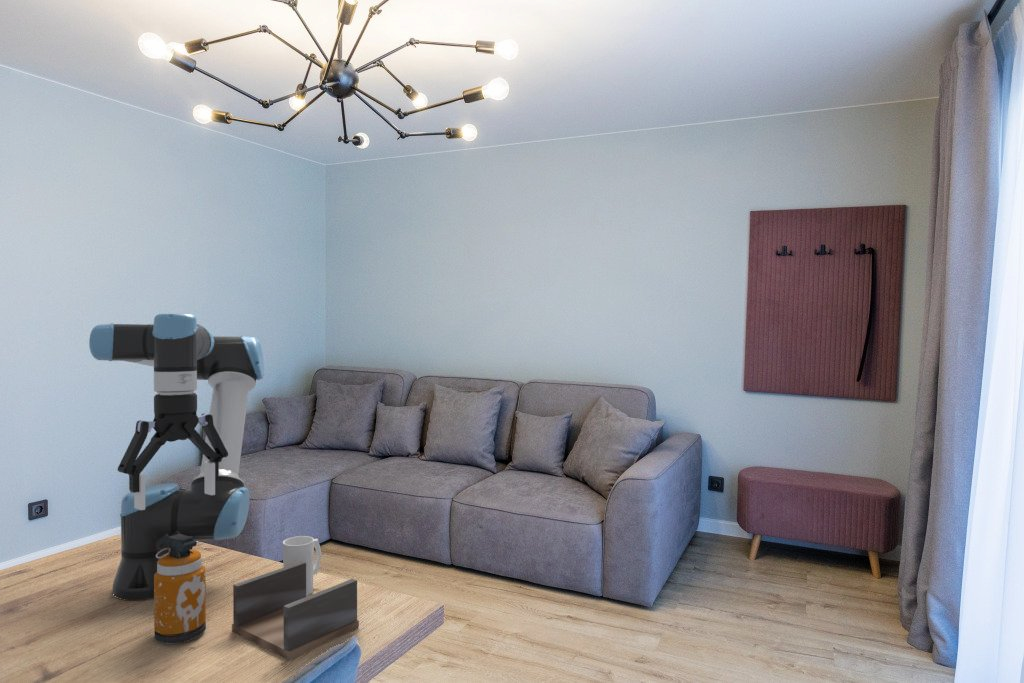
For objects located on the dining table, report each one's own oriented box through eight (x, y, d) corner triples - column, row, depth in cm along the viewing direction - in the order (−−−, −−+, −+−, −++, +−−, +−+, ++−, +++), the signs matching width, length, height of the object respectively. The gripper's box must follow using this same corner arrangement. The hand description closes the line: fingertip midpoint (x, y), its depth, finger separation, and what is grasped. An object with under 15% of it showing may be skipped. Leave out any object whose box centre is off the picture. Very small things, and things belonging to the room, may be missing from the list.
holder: (232, 631, 129) (231, 584, 128) (300, 603, 142) (300, 560, 141) (290, 660, 118) (290, 608, 117) (358, 627, 131) (358, 580, 130)
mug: (297, 601, 143) (297, 547, 143) (276, 595, 146) (276, 542, 146) (331, 586, 152) (331, 535, 151) (310, 580, 155) (310, 530, 155)
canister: (171, 651, 121) (170, 544, 120) (139, 636, 127) (138, 534, 126) (215, 632, 128) (214, 532, 128) (183, 619, 134) (182, 523, 134)
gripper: (115, 399, 114) (116, 519, 114) (245, 389, 134) (245, 491, 135) (96, 396, 118) (97, 512, 119) (225, 387, 139) (225, 486, 139)
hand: (176, 501), depth 127 cm, fingers open, 13 cm apart
